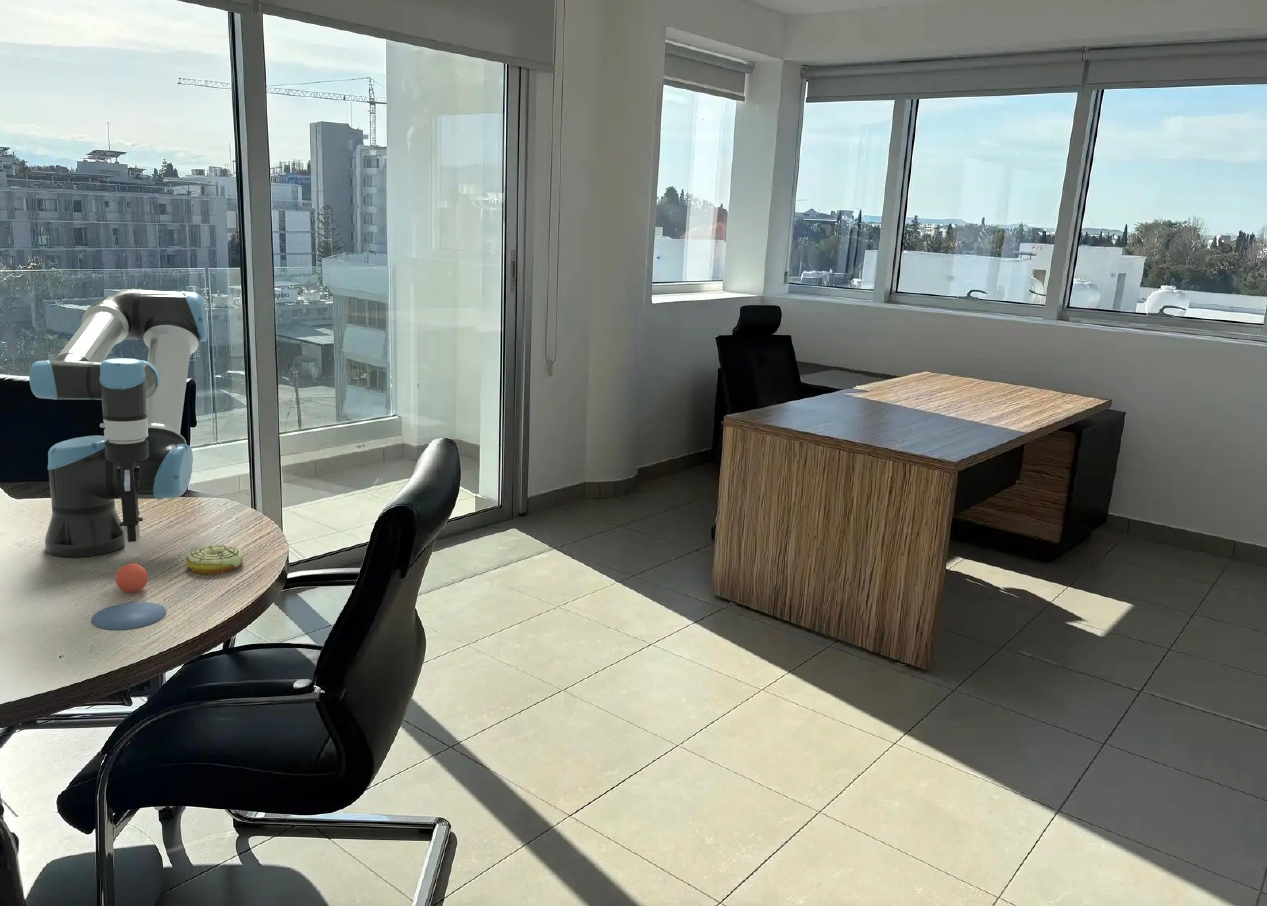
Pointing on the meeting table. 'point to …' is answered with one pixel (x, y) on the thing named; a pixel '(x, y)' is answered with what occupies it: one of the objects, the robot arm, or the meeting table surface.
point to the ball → (131, 578)
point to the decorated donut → (214, 559)
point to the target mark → (128, 615)
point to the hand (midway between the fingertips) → (133, 555)
